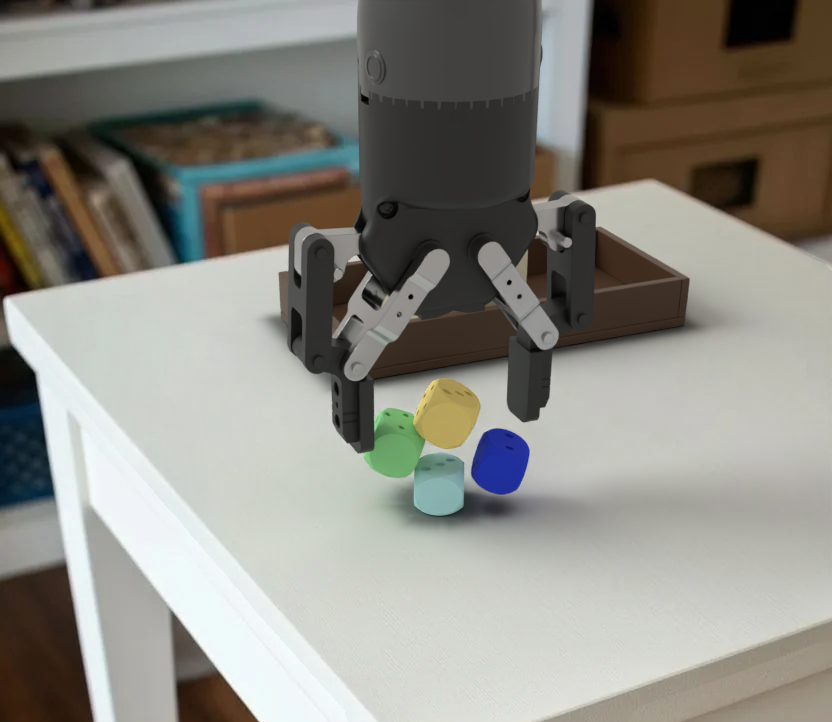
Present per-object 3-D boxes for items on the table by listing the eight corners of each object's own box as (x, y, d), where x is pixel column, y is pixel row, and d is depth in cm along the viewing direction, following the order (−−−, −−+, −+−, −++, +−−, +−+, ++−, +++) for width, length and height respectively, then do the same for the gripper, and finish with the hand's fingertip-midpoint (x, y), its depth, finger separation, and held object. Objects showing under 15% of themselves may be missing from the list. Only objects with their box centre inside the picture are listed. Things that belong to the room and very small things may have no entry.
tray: (597, 270, 96) (600, 226, 94) (685, 325, 88) (690, 278, 86) (280, 318, 88) (278, 271, 87) (342, 384, 80) (340, 333, 78)
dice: (526, 492, 69) (532, 372, 65) (527, 518, 67) (533, 395, 63) (366, 489, 69) (363, 369, 66) (362, 514, 67) (359, 392, 64)
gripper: (558, 43, 62) (538, 378, 71) (255, 68, 57) (275, 424, 66) (645, 77, 56) (611, 438, 65) (316, 108, 52) (328, 492, 61)
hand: (442, 430), depth 66 cm, fingers open, 8 cm apart
